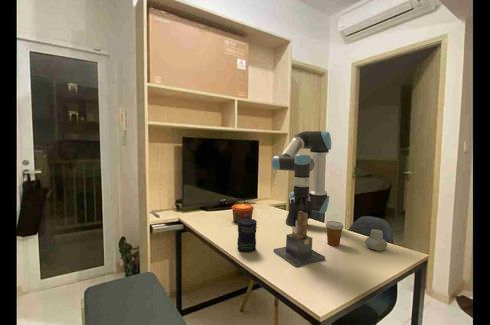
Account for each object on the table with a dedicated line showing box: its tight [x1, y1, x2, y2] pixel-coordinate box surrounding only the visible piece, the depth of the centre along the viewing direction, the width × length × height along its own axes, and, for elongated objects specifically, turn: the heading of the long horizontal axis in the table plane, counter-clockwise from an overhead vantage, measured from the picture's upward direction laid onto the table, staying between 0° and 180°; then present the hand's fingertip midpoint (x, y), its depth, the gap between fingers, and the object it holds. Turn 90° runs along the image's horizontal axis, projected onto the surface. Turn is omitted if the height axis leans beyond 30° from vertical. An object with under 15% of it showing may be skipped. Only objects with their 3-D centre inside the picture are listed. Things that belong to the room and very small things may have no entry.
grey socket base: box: [273, 233, 326, 268], centre depth 129 cm, size 18×18×10 cm
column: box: [291, 211, 308, 239], centre depth 129 cm, size 5×5×20 cm
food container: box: [231, 203, 255, 224], centre depth 185 cm, size 16×16×11 cm
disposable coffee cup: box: [325, 220, 344, 247], centre depth 145 cm, size 10×10×12 cm
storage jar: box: [236, 218, 257, 254], centre depth 136 cm, size 10×10×15 cm
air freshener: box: [364, 228, 388, 252], centre depth 141 cm, size 11×8×10 cm
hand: (299, 231), depth 129 cm, fingers closed on column, 5 cm apart
